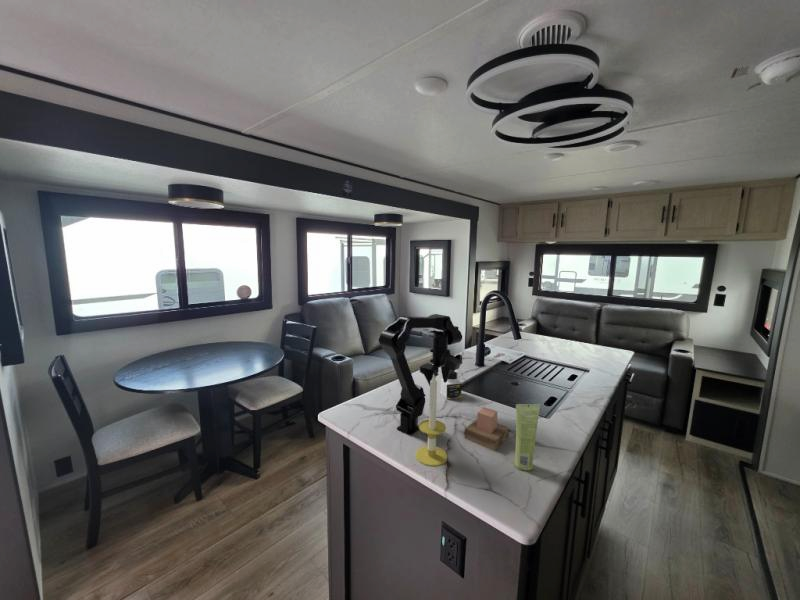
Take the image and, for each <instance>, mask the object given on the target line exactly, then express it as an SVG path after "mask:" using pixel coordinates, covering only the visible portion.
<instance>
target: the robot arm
mask: <svg viewBox="0 0 800 600" xmlns="http://www.w3.org/2000/svg"><path fill="white" fill-rule="evenodd" d="M402 329H403V330H402ZM413 329H434V330H432V332H431V333H429V335H428V336H429V337H430V338H432V348H431V349H430V353H432V354H431V355H432V358H431V359H430V360H429V362H430V363H428V362H426V363H424V364H422V365H420V366H419V373H421V374H422V375H423V376H424V378H425V379H426V381H427V383H428V386H429V387H430V381H431V380H432V378H433V375H435V379H436V378H437V376H439V370H441V375H442V378H443V381H444V382H445V383H446V382H447V380H448V377H449V374H450V371H451V370H452V371H455V370H459V368H460V366H461V365H462V364H463V355H461V354H460V353H459V354H456V355H455V354H451V350H450V349H449V347H448V345H449V346H450V345H453V344H457V343H460V342H461V341H462V340H463V335H462V332H461V331H460V330H459V326H458V325H457V326H455V325H454V324H453V322H452V319H451V317H450V316H449V315H444V314H438V313H435V314H430V315H429V316H407V315H401V316H399V317H398V318H397V320H396V321H394V322H392V323H391V324H389V325H387V327H386V328H385V329H384V330H383V331H382V332H381V333H380V335H379V337H378V342H379V345H380V347H381V348H382V350H383V351H384V352H385V353H386V354H387V355H388V356H389V358H390V360H391V364H392V365H393V368H394V371H395V373H396V376H397V378H398V382H399V384H400V387H401V391H400V398H399V400H398V402H397V403H396V405H395V408H396V411H397V412H399V413H400V417H399V419H400V423H399V425H398V426H397V427H396V429H397V431H400V432H402V433H405V434H407V435H408V436H412V435H413V434H415V433H416V432H418V431H419V430H420V429H419V417H421V416H422V415H423V412H424V408H425V405H426V394H425V392H424V388H423V387H422V386H420V385H418V384H416V383H415V380H414V378H413V374H412V371H411V369H410V366H409V363H408V361H407V357H406V355H405V351H406V348H407V344H406V343H407V341H408V340H409V338H410V335H411V331H412V330H413ZM400 330H402V331H401V333H400V332H398V331H400Z"/></svg>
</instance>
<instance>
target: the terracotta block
mask: <svg viewBox="0 0 800 600" xmlns="http://www.w3.org/2000/svg"><path fill="white" fill-rule="evenodd" d="M476 420H477V429H479V430H481V431H484V432H487V433H490V434H491V433H492V432H493V431H494V430H495V429H496V428H497V423H498V411H497V410H494V409H491V408H488V407H485V406H483V407H482V408H481V409H480V410H479V411H478V412H477V418H476Z"/></svg>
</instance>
